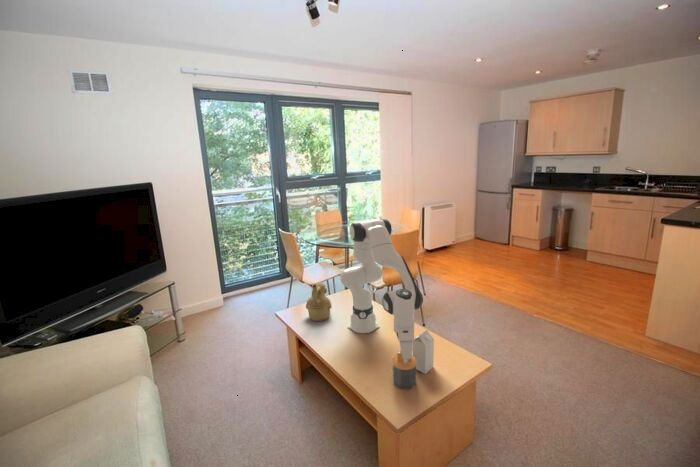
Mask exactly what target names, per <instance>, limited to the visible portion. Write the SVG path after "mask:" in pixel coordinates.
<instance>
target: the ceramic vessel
mask: <svg viewBox="0 0 700 467" xmlns="http://www.w3.org/2000/svg"><path fill="white" fill-rule="evenodd" d="M311 289H312V296H311V297H309V298H308V299H307V301H306V303H305V308H306V310H307V312H308V317H309V318H310V320H312V321H314V322H323V321H326V320H327V319H329V317H330V315H331V309H332V302H331V300H330V298H328V297H327V295H326V294H327V292H328V289H327V287H326V284H325V283H323V282H317V283H316V284H313V285H311ZM325 295H326V296H325Z"/></svg>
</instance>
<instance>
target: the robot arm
mask: <svg viewBox="0 0 700 467" xmlns="http://www.w3.org/2000/svg"><path fill="white" fill-rule="evenodd" d="M392 228H393V227H392V224H391V222H390V220H389V219H384V218H380V219H378V218H377V219H376V218H375V219H372V218H371V219H365V220H360V221H358V220H357V221H355V222H352V223H351V224H350V227H349V235H350V238H351V240H352V241H353V251H352V252H353V253H352V257H353V259H354V261H356V262H358V263H360V265H356V266H351V267H348V268H345V269H343V270H341V272H340V276H339V280H340V282H341V284H342V285H343V286H344V287H345V288H347V289H348V290H349V291H350V292H351V296H352V302H353V303H352V304H353V305H352V312H351V313H350V321H349V323H348V325H347V329H349V330H351V331H352V332H355V333H358V334H368V333H372V332H374V331H375V330H376V329H379V328H380V325H379V322H378V321H377V318H376V314H375V312H374V306H373V299H372V298H373V294H372V292H371V290H369V289H367V288H364V286H363V285H367V284H371V283H375V282H377V281H379V280H381V279H382V276H383V269H382V267H385V268H389V269H392V270H394V271H396V272H398V274H399V275H400V277H401V279H402V280H401V281H402V283H403V285H404V286H405V287H404V288H405V289H404V288H399V289H397V290H396V289H395V290H390V291H387V292H385V293H384V294H383V296H382V299H381V300H382V307H383V310H384V311H385V312H387V313H388V314H389V315H392V316H393V332H394V333H395V335H396V337H397V340H398V342H399V347H400V350H401V354H402V358H403V362H404V363H408V359H410V358H411V356H412V355H413V341H414V339H415V317H414V316H415V315H414V314H415V311H416V310H419V309H420V308H421V307H422V306H423V302H424V297H423V294H422V292H421V290H420V289H419V287H418V285H417V283H416V281H415V279H414V277H413V275H412V272H411V270H410V268H409V266H408V264H407V261H406V260H405V258H404V257H403V255H401V254H399V253H398V252H397V251H396V249H395V246H394V244H393V240H392V238H391V235H392Z"/></svg>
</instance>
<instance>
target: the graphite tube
mask: <svg viewBox="0 0 700 467" xmlns="http://www.w3.org/2000/svg"><path fill="white" fill-rule="evenodd" d="M392 380H393V385H394V386H395V387H397V388H398V389H400V390H412V388H413V387H415V386H416V385H417V370H416V366H415V367H414V368H413V369H410V370H401V369H398V368H396V367H394V366H393V365H392Z"/></svg>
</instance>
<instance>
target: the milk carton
mask: <svg viewBox="0 0 700 467" xmlns="http://www.w3.org/2000/svg"><path fill="white" fill-rule="evenodd" d="M434 343H435V340H434V337H433V336H432V334H430V332H429V331H428V328H426V329H425V330H423V331H422V332H421V333H420V334H419V333H418V335H417V336H416V337H414V341H413V345H412V355H413V356H414V357H415V358H416V360H417V365H416V371H419V372H421V373H423V374H424V375H425V374H428V372H429V371H431V370H432V369H433V368H434V356H435V355H434V351H435V350H434V347H435V344H434Z"/></svg>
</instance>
